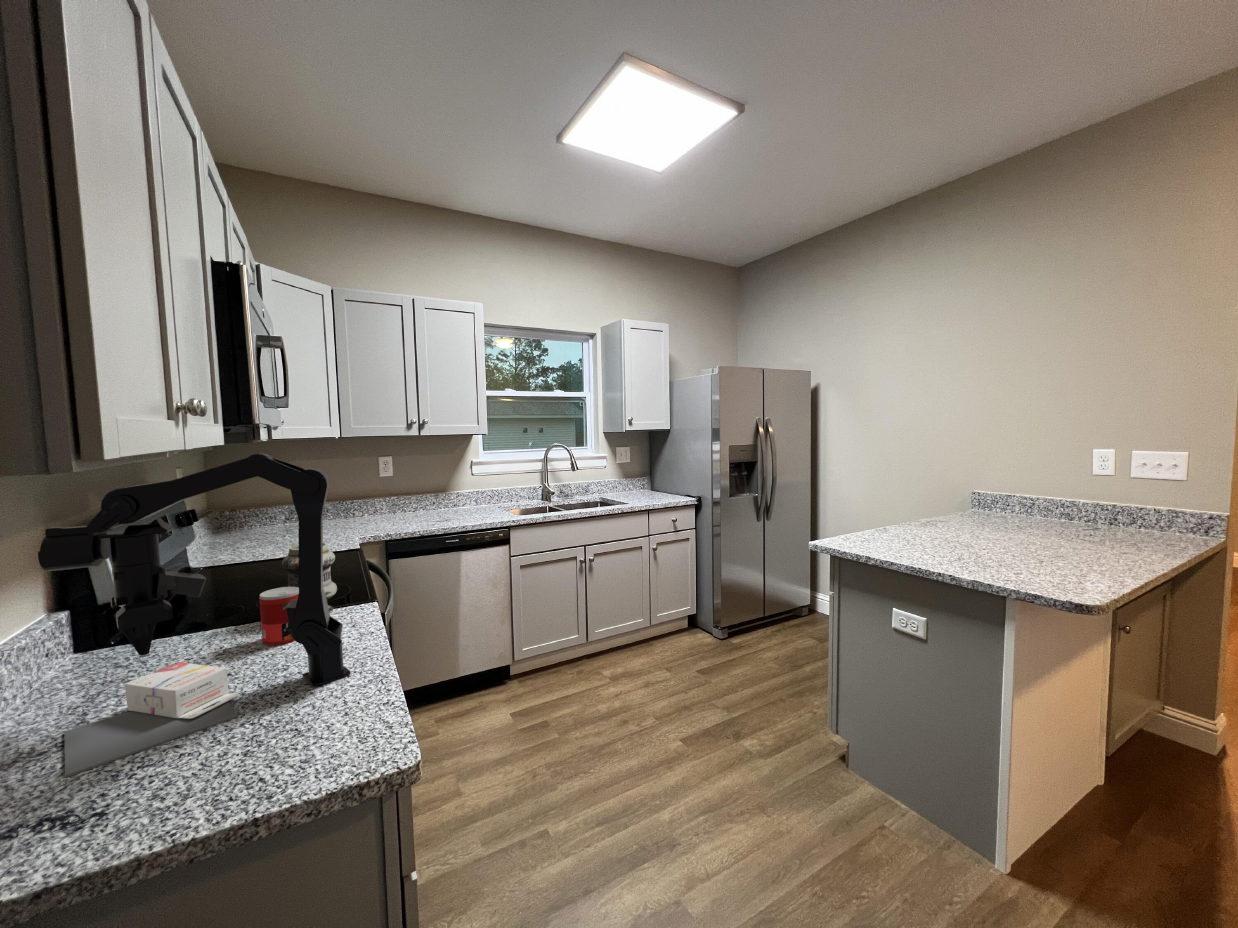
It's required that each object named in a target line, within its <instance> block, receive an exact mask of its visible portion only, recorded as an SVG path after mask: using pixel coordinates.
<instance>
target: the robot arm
mask: <svg viewBox="0 0 1238 928" xmlns="http://www.w3.org/2000/svg"><path fill="white" fill-rule="evenodd" d="M257 477H258V478H260V479H264V480H266V481H268V482H271V483H272V484H275V485H277V486H279V487H282V488H285V489H288V490H290V493H291V497H292V503H293V506H294V509H295V512H296V515H297V520H298V544H299V595H298V599H292V600H291V601H290V603H289V605H288V607H287V615H288V620H289V623H288V627H287V629H286V631H289V630H291V637H292V639H293V640H295V641H294V642H296V643H298V644H301V645H302V646H303V648H304V650H305V652H306V653H307V662H308V663H307V664H308V672H304V673H302V678H303V679H304V680H305V681H306V682H307V683H308V684H309V685H310V686H311V687H312V688H315V687H318V686H322V685H324V684H327V683H330V682H332V681H335V680H338V679H341V678H343V677H346V676H349V675H351V674H352V673H351V670H349V668H347V667H346V666H344V657H343V656H344V653H343V640H342V632H343V626H344V625H343V623H342V622H340V621H339V620H337V619H336V618H334V617H332V616H331V614H330V613H331V612H330V613H329V609H328V605H329V604H328V600H326V596H325V593H324V590H323V542H324V541H323V539H324V538H323V534H324V533H323V531H324V530H323V529H324V528H323V527H324V525H323V524H324V523H323V517H324V511H325V507H326V503H327V498H328V495H329V489H330V482H331V480H330V477H329V476H328V474H327V473H326V472H325V471H324V470H322V469H320V468H318V467H317V468H316V467H307V468H304V467H300V466H298V465H296V464H293V463H289V462H286V461H284V460H280V459H278V458H275V457H273V456H271V455H269V454H267V453H255V454H251V455H249V456H248V457H245V458H241V459H240V460H238V459H237V460H235V461H232V462H229V463H225V464H222V465H219V466H218V465H217V466H215V467H211V468H209V469H205V470H202V471H198V472H194V473H191V474H189V475H188V474H187V475H185V476H181V477H177V478H176V479H171V480H163V481H155V482H149V483H143V484H137V485H131V486H126V487H120V488H116V489H113V490H111V491H108V492H107V493H106V494H105V495H104V496H103V498H102V500H101V502H100V511H99V512H98V513H97V514H96V515H94V517H93V519H92V520H90V522H89V523H88V524H87V525H78V526H77V525H76V526H65V525H64V526H63V525H61V526H60V525H59V526H52V527H47V528H46V529H44V531H45V533H44V534H45V536H44V538H43V539H42V541H41V543H40V547H39V551H38V552H37V559H38V562H39V563H38V564H39V565H40V568H41V569H43V570H44V571H45V572H52V571H53V572H54V571H64V570H74V569H82V568H85V569H86V568H94V567H100V566H101V564H102V563H103V562H104V560H108V559H109V557H111V566H112V568H111V576H112V579H113V580H112V581H113V590H114V591H113V592H111V593H110V595H109V596H110V607H111V608H112V609H115V608H117V607H120V608H119V610H117V611H116V612H115V613H114V615H113V616H114V618H115V619H114V620H115V622H116V627H117V629H118V630H119V631H122V633H123V634H124V636H125V637H126V638H127V640H128V641H129V643H130V644H131V645H132V646H133V648H134V650H135V651H136V652H137V654H138V655H139V656H141V657H143V656H146V655H148V654H150V650H151V647H152V643H153V637H154V632H155V628H156V625H157V624H158V623H160V622H165V621H170V620H172V619H174V611H173V606H172V604H171V602H169V601H167V600H166V599H165V598H168V594H173V595H182V596H183V595H186V596H190V597H195V598H196V597H197V598H199V597H201V594H202V592H203V589H204V587H205V583H206V581H207V577H206V576H204V574H200V573H195V571H194V569H193V568H194V567H192V566H189V565H180V566H179V567H178V568H177V569H175V571H174V570H170V571H167V570H166V568H165V566H163V564H162V563H161V555H160V554H161V553H160V544H159V543H160V542H159V535H161V534H168V533H169V532H171V531H174V530H175V527H174V525H172V524H170V523H168V522H166V521H164V520H163V519H162V518H161V517H158V518H156V519H154V520H153V521H152V522H151V523H143V524H142V523H141V524H133V523H135V522H138V521H141V520H144V519H148V518H150V517H152V516H154V515H156V514H159V513H160V512H163V511H164V510H167V509H169V508H170V507H172V506H174V505H176V504H179V503H180V502H182V501H185V500H187V499H188V498H192V497H195V496H198V495H201V494H205V493H207V492H211V491H214V490H218V489H220V488H224V487H227V486H230V485H233V484H238V483H240V482H243V481H246V480H249V479H252V478H257ZM131 523H132V524H131ZM127 524H129V525H127ZM124 525H127V527H125V529H124V530H122V531H110V532H107V531H109V530H114V529H116V528H119V527H121V526H124Z"/></svg>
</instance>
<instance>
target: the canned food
mask: <svg viewBox="0 0 1238 928" xmlns="http://www.w3.org/2000/svg"><path fill="white" fill-rule="evenodd" d="M298 595H299V588H298V587H288V586H281V587H277V588H272V589H268V590H265V591H262V592H261V593H260V594H259V615H260V628H261V629H260V630H261V639H262V640H261V641H262V642H263V644H264V645H266V646H281V644H282V645H286V644H289V643H293V642H296V641H295V640H293V639H292V637H291V630H289V631H286V629H287V627H288V623H289V620H288V615H287V607H288V605H289V603H290V601H291V600H292V599H298Z"/></svg>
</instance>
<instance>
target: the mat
mask: <svg viewBox="0 0 1238 928" xmlns="http://www.w3.org/2000/svg"><path fill="white" fill-rule="evenodd" d="M217 703H218V702H217ZM215 704H216V703H214V704H212V705H210V706H213V705H215ZM210 706H208V707H210ZM208 707H206V708H208ZM206 708H204V709H206ZM202 710H203V709H202ZM238 717H239V714H238V713H237V712H236V710H235V708H234V707H233V705H232V704H231V702H230V700H229V701H227V702H225V703H223V704H221V705H219V706H217V707H215V708H213V709H211V710H209V711H207V712H205V713H203V714H201V715H199V716H197V717H195V718H192V719H185V718H171V717H165V716H160V715H154V714H148V713H142V712H136V711H130V710H128V711H126V712H123V713H119V714H117V715H113V716H110V717H106V718H103V719H99V720H97V721H93V722H90V723H86V724H83V725H81V726H77V727H74V728H70V729H67V730H65V731H64V778H69V777H71V776H75V775H77V774H80V773H83V772H86V771H89V770H91V769H94V768H98V767H101V766H103V765H106V764H108V763H111V762H115V761H117V760H120V759H123V758H126V757H129V756H131V755H134V754H137V753H139V752H142V751H145V750H148V749H150V748H154V747H158V746H160V745H163V744H165V743H168V742H171V741H173V740H174V741H175V740H176V739H180V738H183V737H185V736H188V735H191V734H194V733H196V732H199V731H201V730H204V729H208V728H210V727H213V726H216V725H218V724H219V725H220V724H222V723H224V722H228V721H230V720H233V719H237V718H238Z"/></svg>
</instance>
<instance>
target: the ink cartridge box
mask: <svg viewBox="0 0 1238 928" xmlns="http://www.w3.org/2000/svg"><path fill="white" fill-rule="evenodd" d="M124 688H125V689H124V690H125V698H126V699H125V700H126V705H127V710H128V711H136V712H142V713H148V714H154V715H160V716H165V717H171V718H185V719H192V718H195V717H197V716H199V715H201V714H203V713H205V712H207V711H209V710H211V709H213V708H215V707H217V706H219V705H221V704H223V703H225V702H227V701H229V702H230V701H231V700H233V699H235V698H237V697H239V696H240V693H229V682H228V670H227V667H219V666H218V667H217V666H213V665H211V666H210V665H206V664H204V665H203V664H196V663H190V662H182V661H178V662H176V663H173V664H171V665H169V666H167V667H163V668H162V669H158V670H156V671H154V672H151V673H148V674H147V675H144V676H143V675H142V676H141V677H139V678H136V679H133V680H131V681H128V682H125V684H124ZM217 702H218V703H217ZM214 703H216V704H215V705H213V706H210V705H212V704H214ZM208 706H210V707H208ZM206 707H208V708H206ZM204 708H206V709H204ZM202 709H203V710H202Z"/></svg>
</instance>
